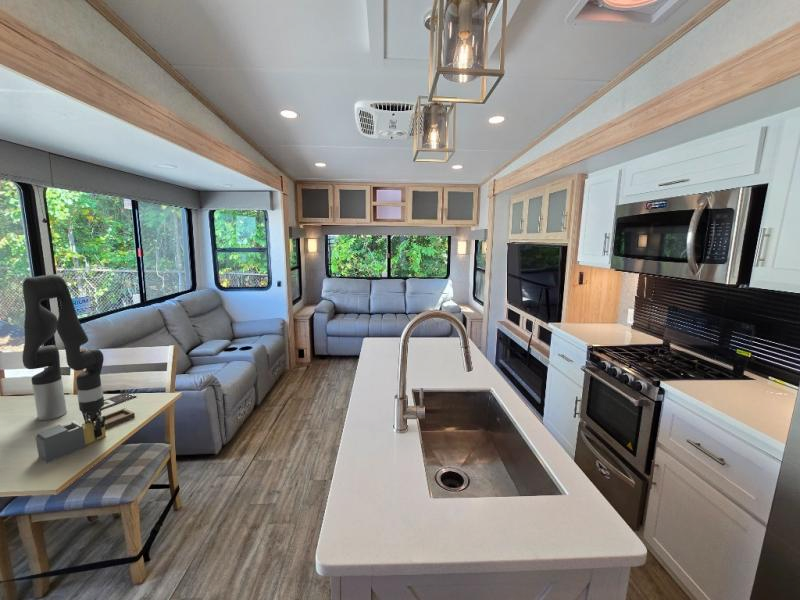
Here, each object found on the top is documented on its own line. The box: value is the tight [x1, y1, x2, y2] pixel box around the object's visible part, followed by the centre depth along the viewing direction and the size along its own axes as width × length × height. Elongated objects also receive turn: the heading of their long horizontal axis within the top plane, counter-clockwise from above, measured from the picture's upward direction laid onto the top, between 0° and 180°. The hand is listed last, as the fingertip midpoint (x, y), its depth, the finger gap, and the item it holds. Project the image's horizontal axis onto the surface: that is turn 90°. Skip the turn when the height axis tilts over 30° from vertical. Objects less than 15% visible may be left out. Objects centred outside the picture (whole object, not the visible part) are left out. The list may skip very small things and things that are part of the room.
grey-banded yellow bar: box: [83, 421, 107, 446], centre depth 133 cm, size 4×13×7 cm, turn 155°
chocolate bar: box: [100, 391, 137, 411], centre depth 165 cm, size 9×1×18 cm
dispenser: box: [34, 420, 87, 464], centre depth 127 cm, size 7×11×10 cm, turn 155°
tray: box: [76, 407, 136, 430], centre depth 147 cm, size 8×18×2 cm, turn 155°
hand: (96, 434), depth 137 cm, fingers closed on grey-banded yellow bar, 3 cm apart
